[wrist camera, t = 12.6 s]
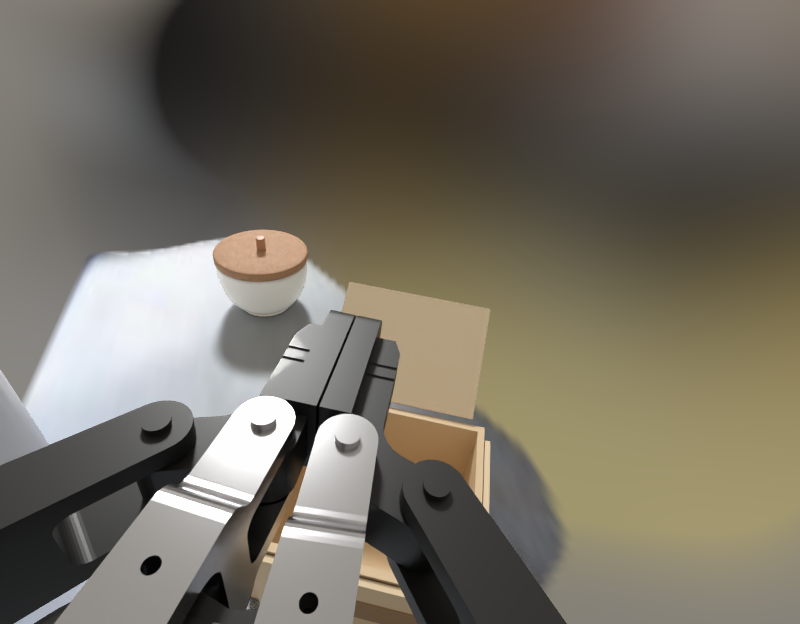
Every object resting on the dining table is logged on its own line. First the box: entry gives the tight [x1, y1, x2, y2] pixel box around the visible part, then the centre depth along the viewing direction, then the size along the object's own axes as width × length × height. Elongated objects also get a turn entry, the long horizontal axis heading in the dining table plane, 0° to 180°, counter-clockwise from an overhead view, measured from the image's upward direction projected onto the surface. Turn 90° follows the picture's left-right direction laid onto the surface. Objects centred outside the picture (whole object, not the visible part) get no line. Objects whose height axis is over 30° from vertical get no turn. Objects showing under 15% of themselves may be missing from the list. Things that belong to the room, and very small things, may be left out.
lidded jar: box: [213, 230, 308, 317], centre depth 52 cm, size 11×11×9 cm
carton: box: [251, 408, 490, 624], centre depth 31 cm, size 15×13×8 cm
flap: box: [342, 282, 490, 419], centre depth 35 cm, size 12×1×9 cm
